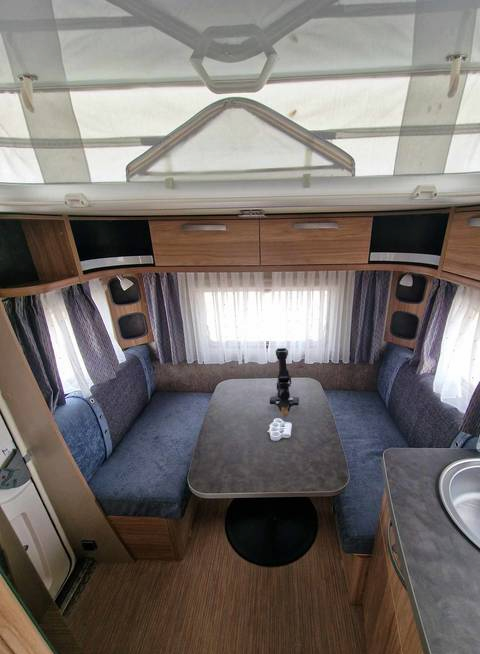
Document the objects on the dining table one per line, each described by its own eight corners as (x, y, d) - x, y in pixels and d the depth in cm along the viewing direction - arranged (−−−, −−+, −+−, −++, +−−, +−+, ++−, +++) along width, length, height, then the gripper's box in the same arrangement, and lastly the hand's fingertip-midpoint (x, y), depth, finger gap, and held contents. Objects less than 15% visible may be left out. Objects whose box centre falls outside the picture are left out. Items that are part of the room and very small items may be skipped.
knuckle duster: (289, 442, 167) (265, 440, 169) (292, 423, 183) (269, 421, 185) (289, 437, 165) (265, 435, 167) (292, 419, 181) (269, 417, 184)
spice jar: (280, 415, 186) (280, 405, 183) (281, 411, 190) (281, 401, 187) (287, 416, 185) (287, 405, 182) (288, 412, 190) (288, 401, 186)
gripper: (267, 397, 175) (268, 418, 181) (298, 398, 172) (298, 419, 179) (270, 388, 185) (271, 408, 191) (299, 389, 182) (298, 409, 189)
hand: (284, 411), depth 187 cm, fingers closed on spice jar, 4 cm apart
